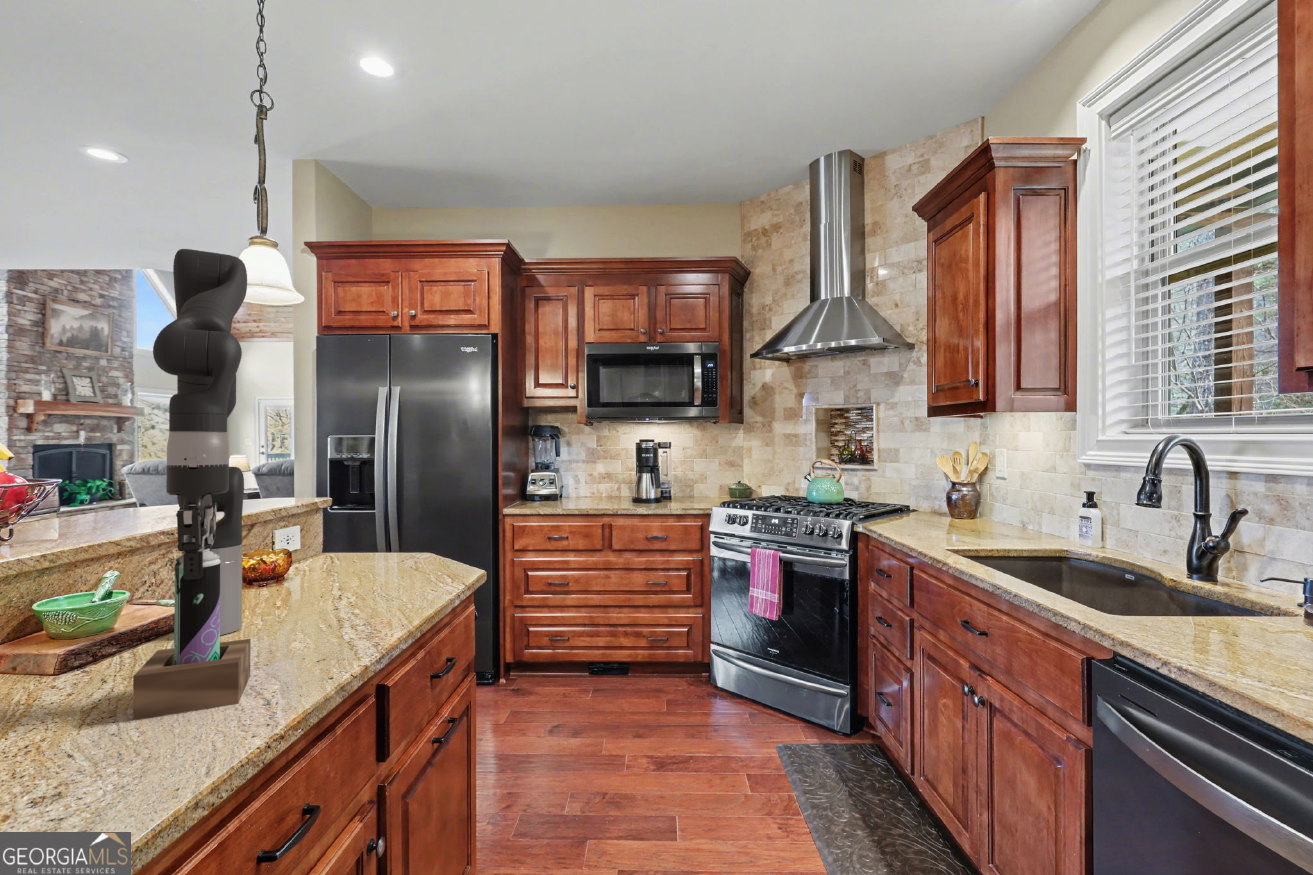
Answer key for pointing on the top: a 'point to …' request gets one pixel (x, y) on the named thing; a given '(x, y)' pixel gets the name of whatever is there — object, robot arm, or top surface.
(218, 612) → the spray can
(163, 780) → the top surface
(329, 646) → the top surface
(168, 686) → the walnut holder
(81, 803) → the top surface
